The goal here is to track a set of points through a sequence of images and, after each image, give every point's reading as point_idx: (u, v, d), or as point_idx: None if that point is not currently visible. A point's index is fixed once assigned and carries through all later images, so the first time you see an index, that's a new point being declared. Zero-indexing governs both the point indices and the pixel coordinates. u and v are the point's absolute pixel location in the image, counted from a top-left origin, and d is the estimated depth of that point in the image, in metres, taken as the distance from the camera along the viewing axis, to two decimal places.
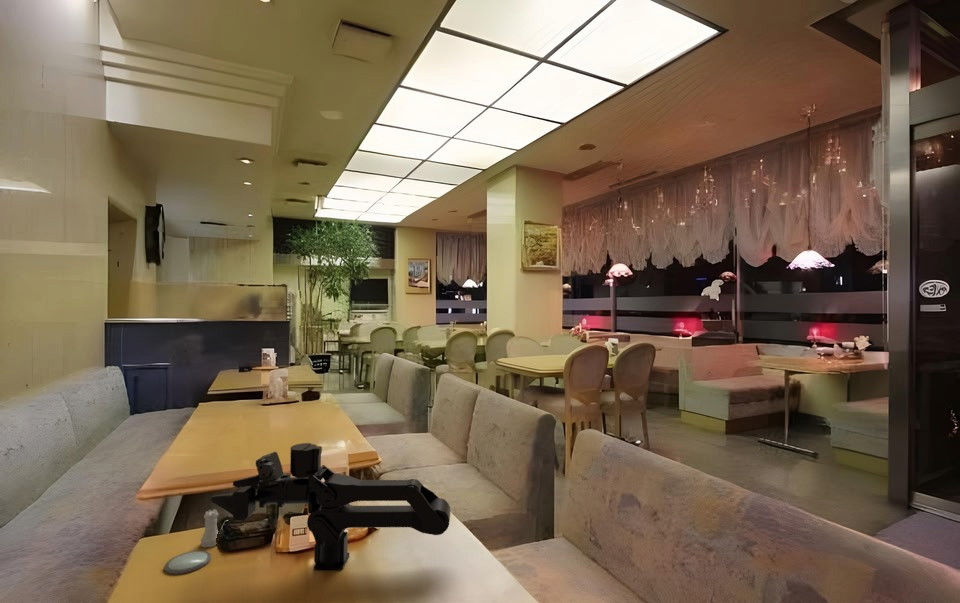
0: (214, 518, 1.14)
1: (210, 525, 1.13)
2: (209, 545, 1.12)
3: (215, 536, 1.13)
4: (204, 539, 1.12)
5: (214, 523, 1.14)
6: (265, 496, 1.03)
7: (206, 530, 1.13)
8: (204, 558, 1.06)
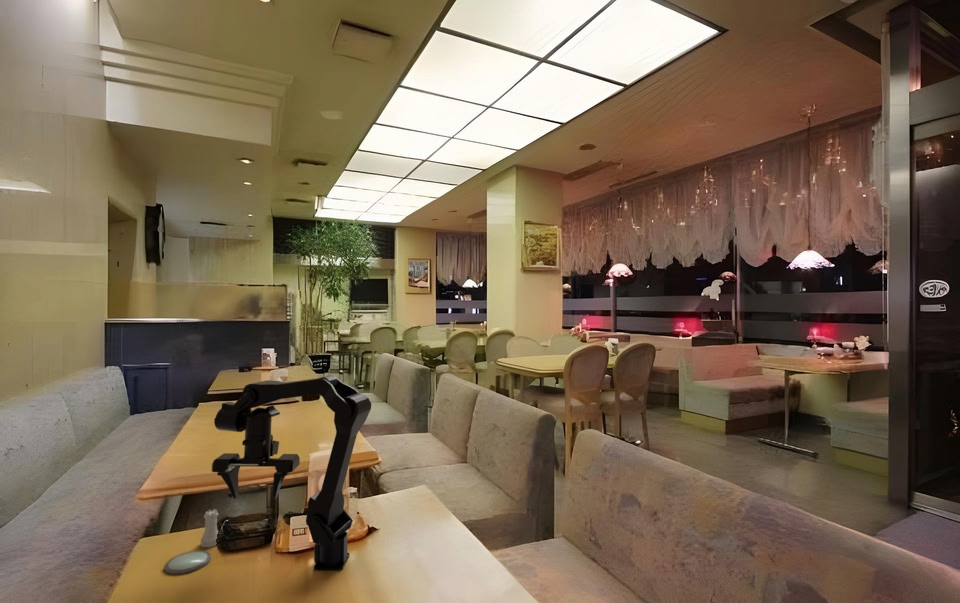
0: (214, 518, 1.14)
1: (210, 525, 1.13)
2: (209, 545, 1.12)
3: (215, 536, 1.13)
4: (204, 539, 1.12)
5: (214, 523, 1.14)
6: None
7: (206, 530, 1.13)
8: (204, 558, 1.06)
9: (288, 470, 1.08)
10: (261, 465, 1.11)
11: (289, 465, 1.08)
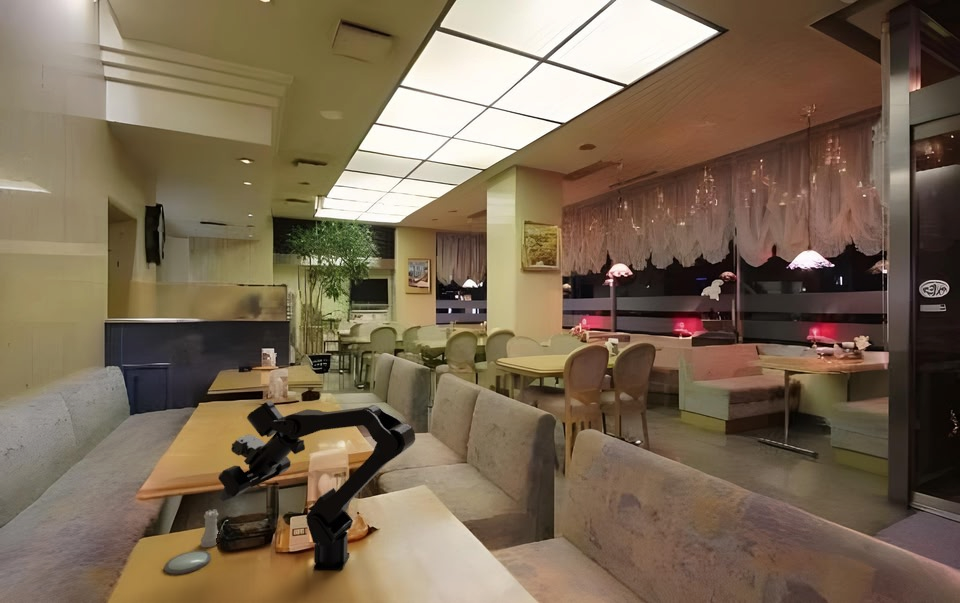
0: (214, 518, 1.14)
1: (210, 525, 1.13)
2: (209, 545, 1.12)
3: (215, 536, 1.13)
4: (204, 539, 1.12)
5: (214, 523, 1.14)
6: (255, 467, 1.08)
7: (206, 530, 1.13)
8: (204, 558, 1.06)
9: (286, 469, 1.19)
10: None
11: (289, 466, 1.19)
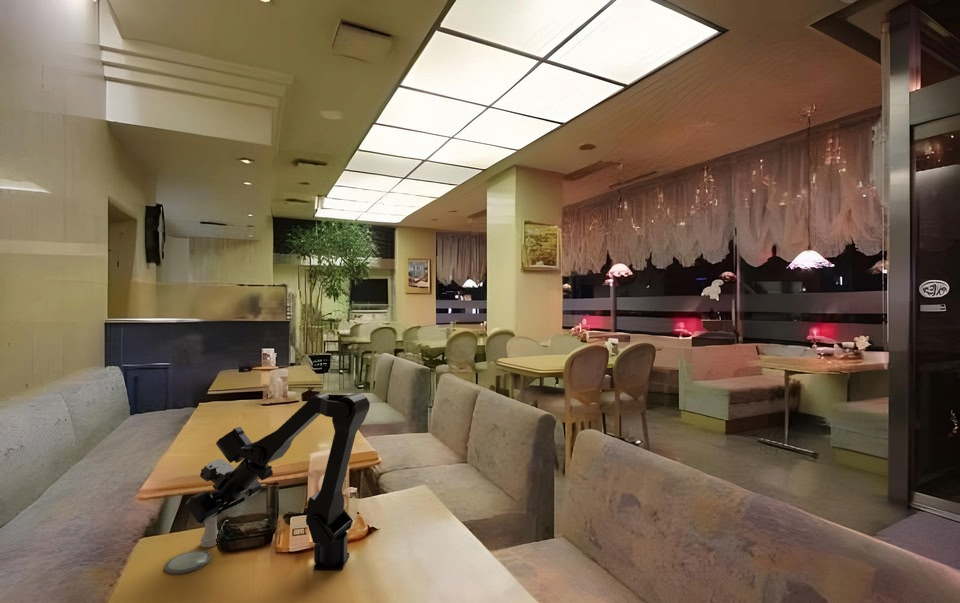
0: (214, 518, 1.14)
1: (210, 525, 1.13)
2: (209, 545, 1.12)
3: (215, 536, 1.13)
4: (204, 539, 1.12)
5: (214, 523, 1.14)
6: (224, 493, 1.10)
7: (206, 530, 1.13)
8: (204, 558, 1.06)
9: None
10: None
11: (260, 489, 1.21)
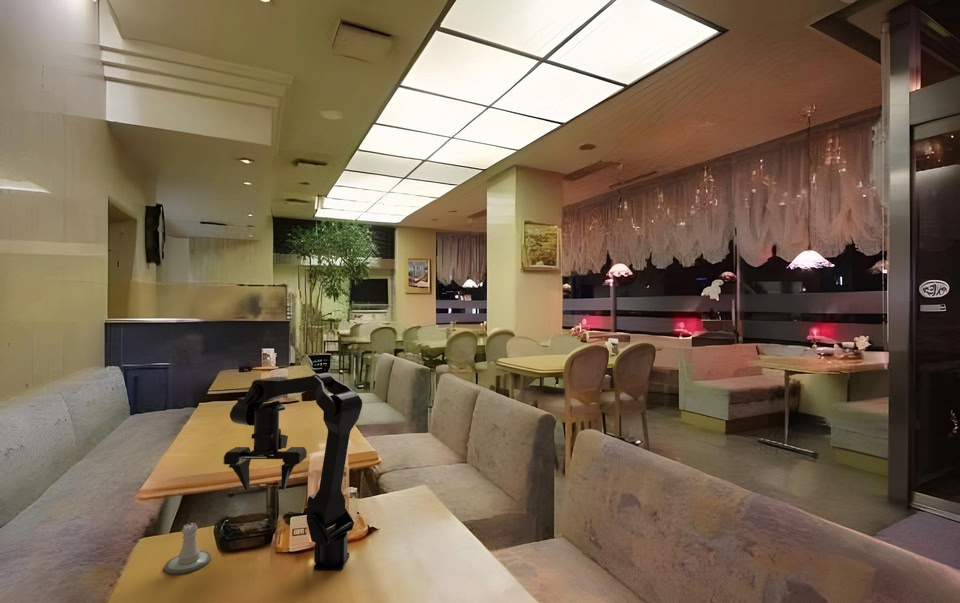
0: (194, 532, 1.05)
1: (190, 540, 1.04)
2: (190, 561, 1.04)
3: (196, 551, 1.05)
4: (183, 555, 1.03)
5: (194, 537, 1.05)
6: None
7: (185, 546, 1.04)
8: (204, 558, 1.06)
9: (295, 462, 1.13)
10: (270, 458, 1.15)
11: (296, 457, 1.13)
